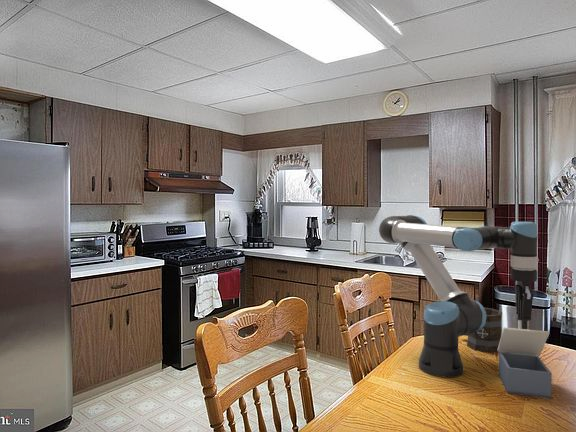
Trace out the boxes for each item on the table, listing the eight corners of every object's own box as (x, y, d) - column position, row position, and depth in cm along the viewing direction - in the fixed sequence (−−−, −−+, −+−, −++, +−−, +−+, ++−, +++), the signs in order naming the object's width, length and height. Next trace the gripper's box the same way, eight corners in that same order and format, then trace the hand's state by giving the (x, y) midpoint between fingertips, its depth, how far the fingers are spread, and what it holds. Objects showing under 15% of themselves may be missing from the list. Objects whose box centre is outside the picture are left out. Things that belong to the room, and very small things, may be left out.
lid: (503, 329, 128) (503, 327, 128) (497, 351, 137) (497, 349, 138) (549, 333, 124) (549, 331, 124) (539, 355, 133) (539, 354, 134)
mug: (508, 348, 162) (509, 312, 161) (491, 355, 154) (492, 318, 154) (464, 335, 178) (464, 302, 178) (446, 341, 170) (446, 307, 170)
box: (507, 393, 124) (507, 368, 124) (498, 374, 138) (498, 351, 137) (551, 398, 121) (551, 373, 120) (537, 379, 134) (538, 356, 134)
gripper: (543, 272, 123) (542, 346, 124) (530, 265, 135) (530, 333, 136) (516, 271, 125) (515, 344, 126) (506, 264, 137) (506, 331, 138)
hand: (523, 338), depth 131 cm, fingers closed
